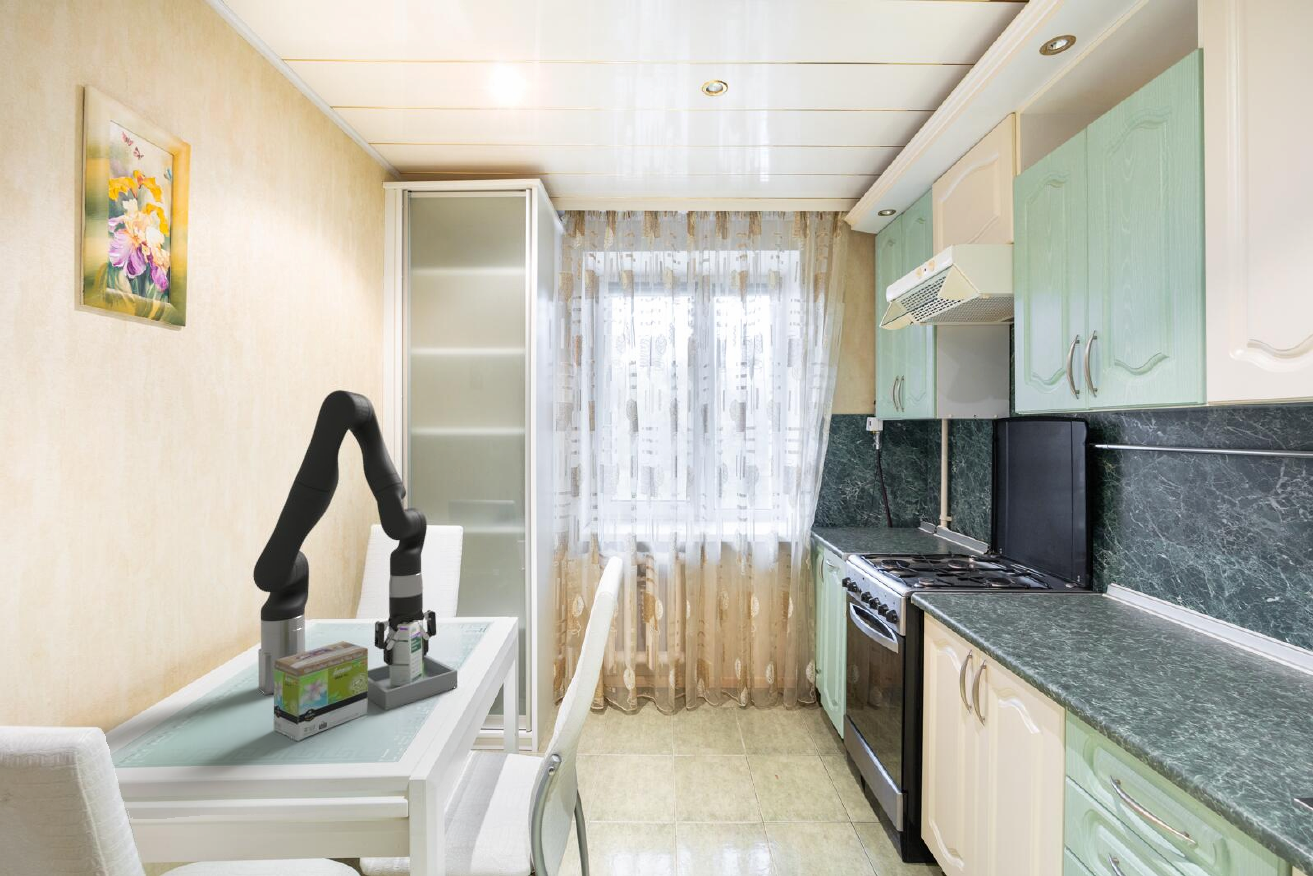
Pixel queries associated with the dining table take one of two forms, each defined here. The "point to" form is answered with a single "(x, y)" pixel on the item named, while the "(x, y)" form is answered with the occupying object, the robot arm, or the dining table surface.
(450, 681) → the tray
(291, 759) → the dining table surface
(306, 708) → the tea box
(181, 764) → the dining table surface
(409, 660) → the syrup box
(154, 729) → the dining table surface
